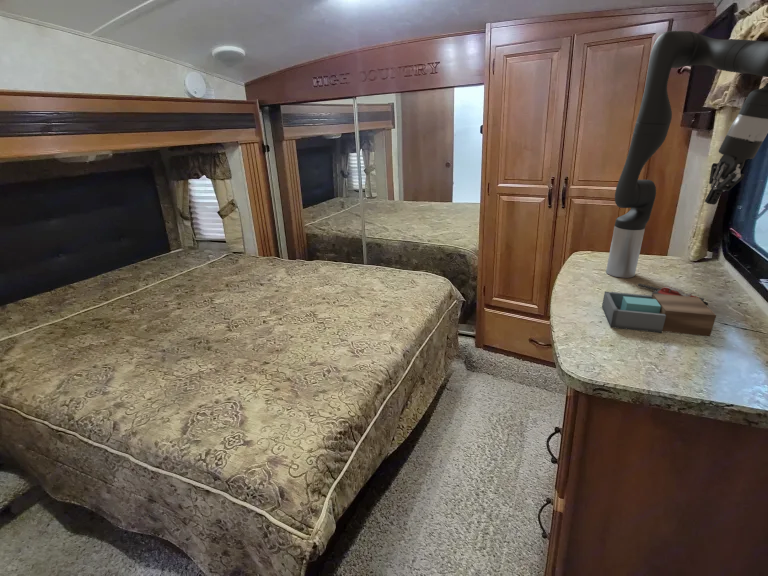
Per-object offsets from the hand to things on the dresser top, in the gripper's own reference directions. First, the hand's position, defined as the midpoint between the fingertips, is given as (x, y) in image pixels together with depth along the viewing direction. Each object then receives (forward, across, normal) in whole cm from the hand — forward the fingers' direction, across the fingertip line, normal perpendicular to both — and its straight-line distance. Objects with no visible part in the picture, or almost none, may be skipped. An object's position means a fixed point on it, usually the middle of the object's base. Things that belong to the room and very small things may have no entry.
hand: (709, 203), depth 110 cm
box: (+31, +16, -12) cm, 37 cm away
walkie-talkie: (+32, -2, +3) cm, 32 cm away
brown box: (+29, +16, -1) cm, 34 cm away
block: (+27, +16, -7) cm, 32 cm away
